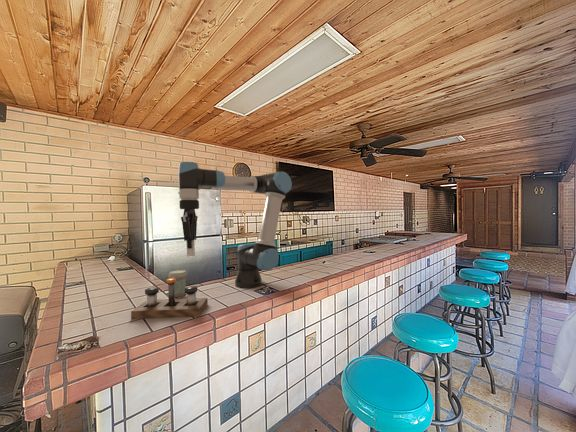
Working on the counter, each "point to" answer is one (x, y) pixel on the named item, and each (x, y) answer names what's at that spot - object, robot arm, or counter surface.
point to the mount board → (169, 309)
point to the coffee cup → (179, 281)
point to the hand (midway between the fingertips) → (190, 255)
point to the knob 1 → (151, 296)
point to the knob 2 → (191, 295)
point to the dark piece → (171, 290)
